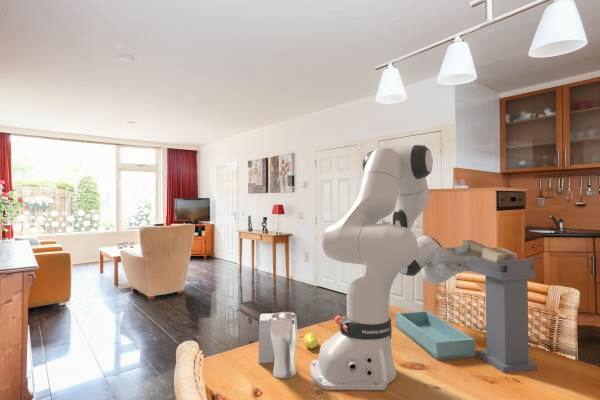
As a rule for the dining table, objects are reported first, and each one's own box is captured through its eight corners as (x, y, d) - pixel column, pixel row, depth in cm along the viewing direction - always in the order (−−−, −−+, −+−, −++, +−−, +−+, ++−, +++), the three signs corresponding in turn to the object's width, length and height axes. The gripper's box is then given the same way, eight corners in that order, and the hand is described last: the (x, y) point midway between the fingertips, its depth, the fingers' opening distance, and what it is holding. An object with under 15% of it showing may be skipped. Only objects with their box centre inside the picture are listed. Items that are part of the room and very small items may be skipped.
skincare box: (259, 354, 100) (259, 313, 100) (275, 353, 100) (274, 312, 100) (258, 364, 93) (257, 320, 94) (274, 363, 94) (273, 320, 94)
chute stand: (503, 372, 87) (501, 261, 88) (470, 351, 100) (468, 253, 100) (537, 369, 89) (535, 259, 89) (500, 348, 102) (498, 252, 102)
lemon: (316, 341, 109) (316, 329, 109) (318, 352, 101) (318, 339, 101) (303, 341, 109) (303, 329, 109) (304, 352, 101) (304, 339, 101)
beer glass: (282, 364, 93) (281, 309, 93) (302, 371, 89) (302, 314, 89) (265, 374, 88) (265, 316, 88) (286, 382, 84) (286, 322, 84)
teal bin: (436, 360, 95) (436, 342, 95) (395, 326, 120) (395, 312, 120) (475, 356, 97) (474, 339, 97) (427, 324, 122) (426, 310, 122)
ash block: (496, 268, 92) (497, 254, 92) (458, 249, 109) (459, 237, 108) (515, 268, 93) (517, 254, 92) (474, 248, 110) (476, 236, 109)
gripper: (421, 253, 117) (441, 237, 105) (474, 252, 120) (499, 235, 109) (426, 271, 114) (447, 256, 102) (481, 269, 117) (507, 254, 105)
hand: (474, 245), depth 105 cm, fingers closed on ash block, 3 cm apart
